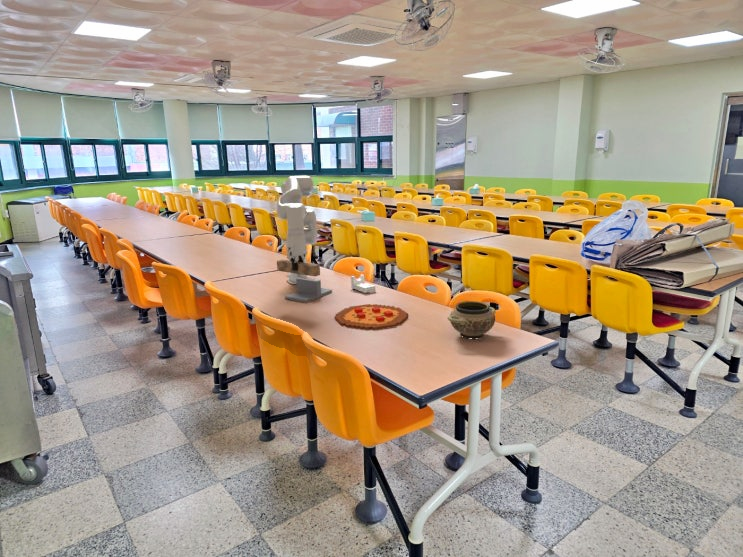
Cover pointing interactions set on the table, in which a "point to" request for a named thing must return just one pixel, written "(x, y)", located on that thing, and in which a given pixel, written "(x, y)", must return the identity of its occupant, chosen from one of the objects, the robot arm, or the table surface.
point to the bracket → (361, 284)
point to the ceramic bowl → (472, 319)
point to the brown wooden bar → (299, 268)
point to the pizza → (371, 316)
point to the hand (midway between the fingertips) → (298, 269)
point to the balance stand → (308, 289)
